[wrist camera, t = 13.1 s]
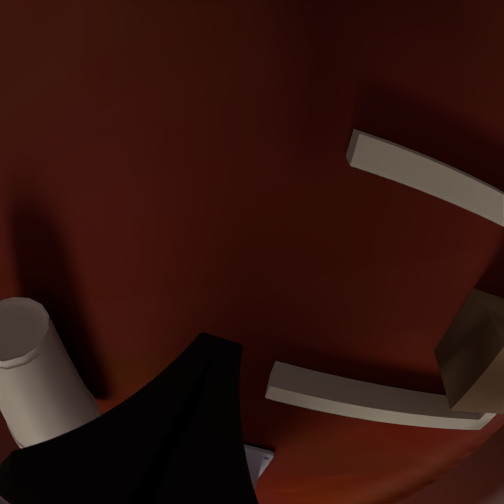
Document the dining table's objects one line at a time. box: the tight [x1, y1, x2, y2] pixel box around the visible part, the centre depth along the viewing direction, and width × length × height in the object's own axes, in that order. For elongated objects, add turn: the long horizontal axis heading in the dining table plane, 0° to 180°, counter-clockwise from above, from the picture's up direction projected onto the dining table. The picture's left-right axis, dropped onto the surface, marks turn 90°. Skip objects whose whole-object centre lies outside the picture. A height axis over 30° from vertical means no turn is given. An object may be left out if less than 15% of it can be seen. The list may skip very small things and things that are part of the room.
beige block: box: [434, 288, 504, 414], centre depth 13 cm, size 4×4×4 cm
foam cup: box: [0, 297, 101, 448], centre depth 19 cm, size 10×9×13 cm
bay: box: [265, 129, 504, 430], centre depth 14 cm, size 14×16×2 cm
